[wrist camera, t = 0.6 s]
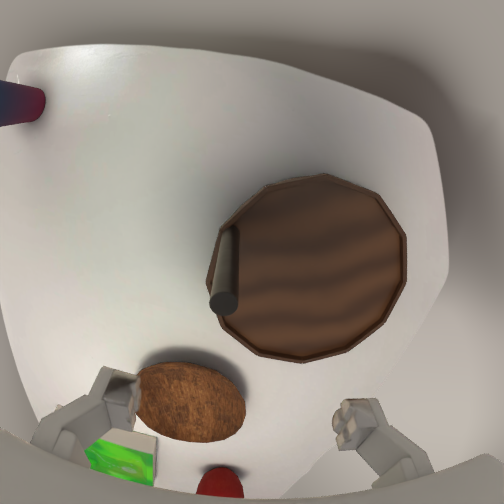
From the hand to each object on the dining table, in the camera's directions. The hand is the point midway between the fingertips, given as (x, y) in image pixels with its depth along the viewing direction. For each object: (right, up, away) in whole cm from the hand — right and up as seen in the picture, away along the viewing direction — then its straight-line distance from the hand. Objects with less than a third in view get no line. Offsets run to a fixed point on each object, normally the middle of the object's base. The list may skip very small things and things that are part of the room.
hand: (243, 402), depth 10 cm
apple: (-8, -50, +50) cm, 71 cm away
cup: (-30, +27, +19) cm, 45 cm away
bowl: (-11, -18, +37) cm, 43 cm away
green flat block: (-36, -44, +47) cm, 74 cm away
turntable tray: (+8, +3, +28) cm, 29 cm away
